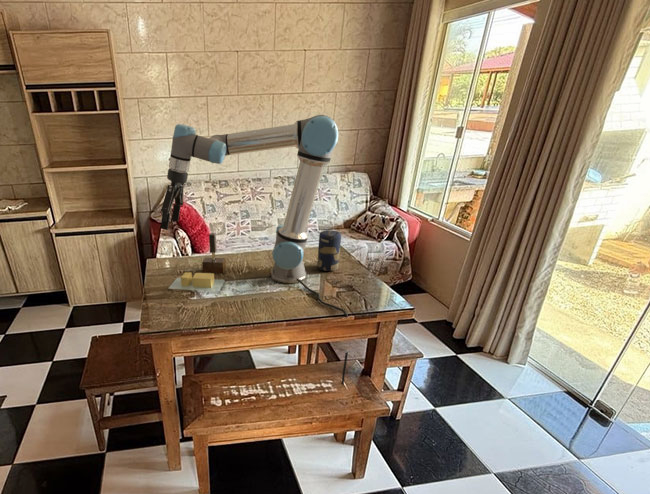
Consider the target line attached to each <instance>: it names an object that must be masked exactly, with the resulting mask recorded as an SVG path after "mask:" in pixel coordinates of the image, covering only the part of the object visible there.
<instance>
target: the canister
mask: <svg viewBox="0 0 650 494" xmlns="http://www.w3.org/2000/svg"><path fill="white" fill-rule="evenodd" d="M341 243H342V233H341V232H340V231H338V230H333V229H328V230H322V231H320V232H319V236H318V250H317V261H316V262H317V263H316V266H317V269H318V270H320V271H324V272H334V271H336V270H338V269H339V264H340V255H341Z"/></svg>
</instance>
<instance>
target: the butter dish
mask: <svg viewBox="0 0 650 494" xmlns="http://www.w3.org/2000/svg"><path fill="white" fill-rule="evenodd" d="M224 283H225V279H215V278H214V284H213V285H212V287H211V288H207V287H193V282H191V283H190V285H189V286H188V287H187V286H182V285H181V277H176V278H175V279H174V281H173V282H172V283H171V284H170V286H168V290H185V291H203V292H205V291H206V292H220V290H221V288H222V287H223V285H224Z"/></svg>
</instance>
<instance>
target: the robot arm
mask: <svg viewBox="0 0 650 494" xmlns="http://www.w3.org/2000/svg"><path fill="white" fill-rule="evenodd" d="M336 123H337V122H336V121H334V119H332V118H331V117H330V116H328V115H324V114H317V115H314V116H312V117H311V116H310V117H308V118H305V119H299V120H296V121H295V122H294V123H293V124H285V125H279V126H273V127H266V128H259V129H251V130H245V131H239V132H231V133H226V134H225V133H224V134H215V135H212V136H210V137H205V136H201V135H198V134H196V128H195V127H193V126H190V125H186V124H181V123H178V124H176V125H175V126H174V129H173V130H174V131H173V136H172V142H171V148H170V156H169V158H168V161H169V163H168V167H169V168H168V169H167V174H166V179H167V180H168V181H170V184H167V187H166V191H165V196H164V199H163V202H162V206H161V208H160V212H162V214H161V222H160V229H162V230H166V231H168V230H169V223H170V217H171V221H174V222H179V218H180V214H181V207H183V206H184V189H185V188H184V187H185V184H186V183H187V181H188V177H189V173H188V172H190V171H189V170H190V165H191V159H192V158H196V159H199V160H203V161H206V162H210V163H212V164H217V165H221V164H222V163H223V162H224V160H225V157H226V156H232V155H239V154H240V155H241V154H247V153H255V152H263V151H270V150H272V151H273V150H279V149H286V148H293V147H295V148H296V149H298V150H297V155H296V156H297V158H298V160H299V164H298V167H297V168H298V169H297V171H296V175H295V179H294V184H293V187H292V192H291V194H290V195H291V196H290V200H289V204H288V207H287V210H286V211H287V212H286V215H285V218H284V223H283V224H280V225H277V226H276V231H275V233H276V235H275V243H274V246H273V249H272V252H271V256H272V259H273V262H274V263H273V267H272V268H270V278H271V279H272V280H273V281H275V282H277V283H281V284H297V283H298V284H299V283H300V284H301V285H302V286H303V287H304V288H305V289H306V290H307V291H309V292H311V293H312V294H315V295H316V296H317V300H318V301H319V303H320V304H322V305H324V306H327V307H330V308H333V309H335V310H338V311H341V312H342V313H343V314H344V317H345V318H349V315H348V312H347V311H346V310H345V309H343V308H341V307H339V306H336V305H333V304H331V303H329V302H325V301H323V300H322V298H321V295H320V294H319V293H318V292H317V291H315V290H313V289H312V288H309V287H308V286H307V285H306V284H305V283H304V282H303V281H305V280H306V279H307V271H306V269H305V268H306V267H305V264H304V253H305V248H306V246H307V242H308V239H309V235H308V234H307V232H306V231H307V227H308V224H309V220H310V216H311V213H312V211H313V206H314V203H315V199H316V195H317V193H318V188H319V185H320V182H321V178H322V175H323V171H324V168H325V166H327V165H328V164H330V163H331V160H332V156H333V152H334V149H335V147H336V145H337V144H338V141H339V129H338V125H337V124H336ZM172 207H173V208H172ZM171 209H172V215H171ZM348 355H349V352H348V351H347V352H345V354H344V362H343V370H342V375H341V385H342V386H344V385H345V377H346V370H347V363H348Z"/></svg>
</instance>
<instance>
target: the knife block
mask: <svg viewBox="0 0 650 494" xmlns="http://www.w3.org/2000/svg"><path fill="white" fill-rule="evenodd" d="M226 263H227V262H226V257H215V262H212V257H204V258H203V260H202V261H201V264H202V273H212V274H224V273H225V271H226V269H227V265H226Z"/></svg>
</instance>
